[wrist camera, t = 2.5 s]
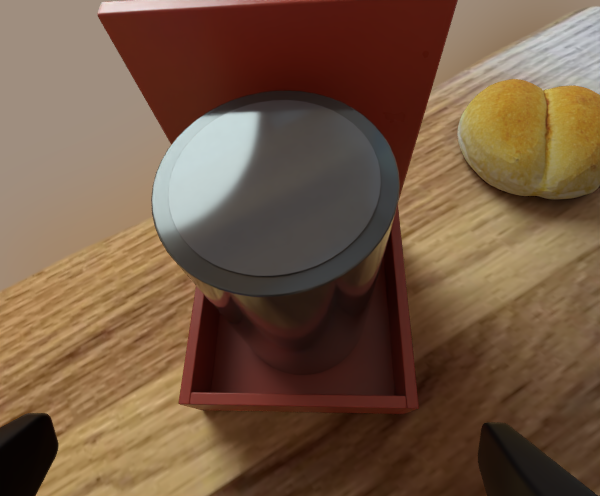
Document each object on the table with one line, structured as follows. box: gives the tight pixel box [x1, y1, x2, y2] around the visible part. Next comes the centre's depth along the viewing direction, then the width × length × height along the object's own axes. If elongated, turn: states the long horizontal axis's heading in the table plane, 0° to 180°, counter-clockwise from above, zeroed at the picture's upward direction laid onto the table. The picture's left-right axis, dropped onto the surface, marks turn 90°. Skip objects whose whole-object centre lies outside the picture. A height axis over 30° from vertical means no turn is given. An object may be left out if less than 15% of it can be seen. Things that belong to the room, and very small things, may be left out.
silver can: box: [151, 90, 400, 375], centre depth 16 cm, size 7×7×12 cm
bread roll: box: [457, 79, 600, 199], centre depth 24 cm, size 8×9×4 cm
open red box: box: [179, 204, 419, 414], centre depth 20 cm, size 10×10×4 cm
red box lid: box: [97, 0, 458, 198], centre depth 16 cm, size 11×10×1 cm
